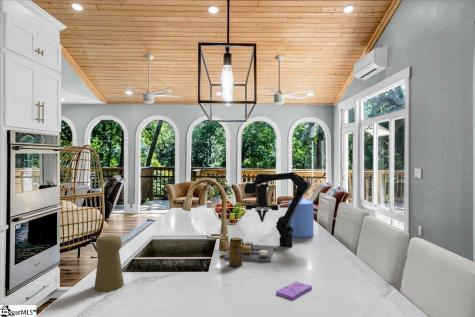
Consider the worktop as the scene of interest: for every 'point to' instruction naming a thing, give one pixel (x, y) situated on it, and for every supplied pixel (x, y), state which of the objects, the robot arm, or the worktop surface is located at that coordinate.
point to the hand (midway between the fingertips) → (262, 221)
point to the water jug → (303, 219)
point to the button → (263, 253)
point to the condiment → (235, 254)
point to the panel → (256, 254)
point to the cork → (108, 264)
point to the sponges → (294, 290)
